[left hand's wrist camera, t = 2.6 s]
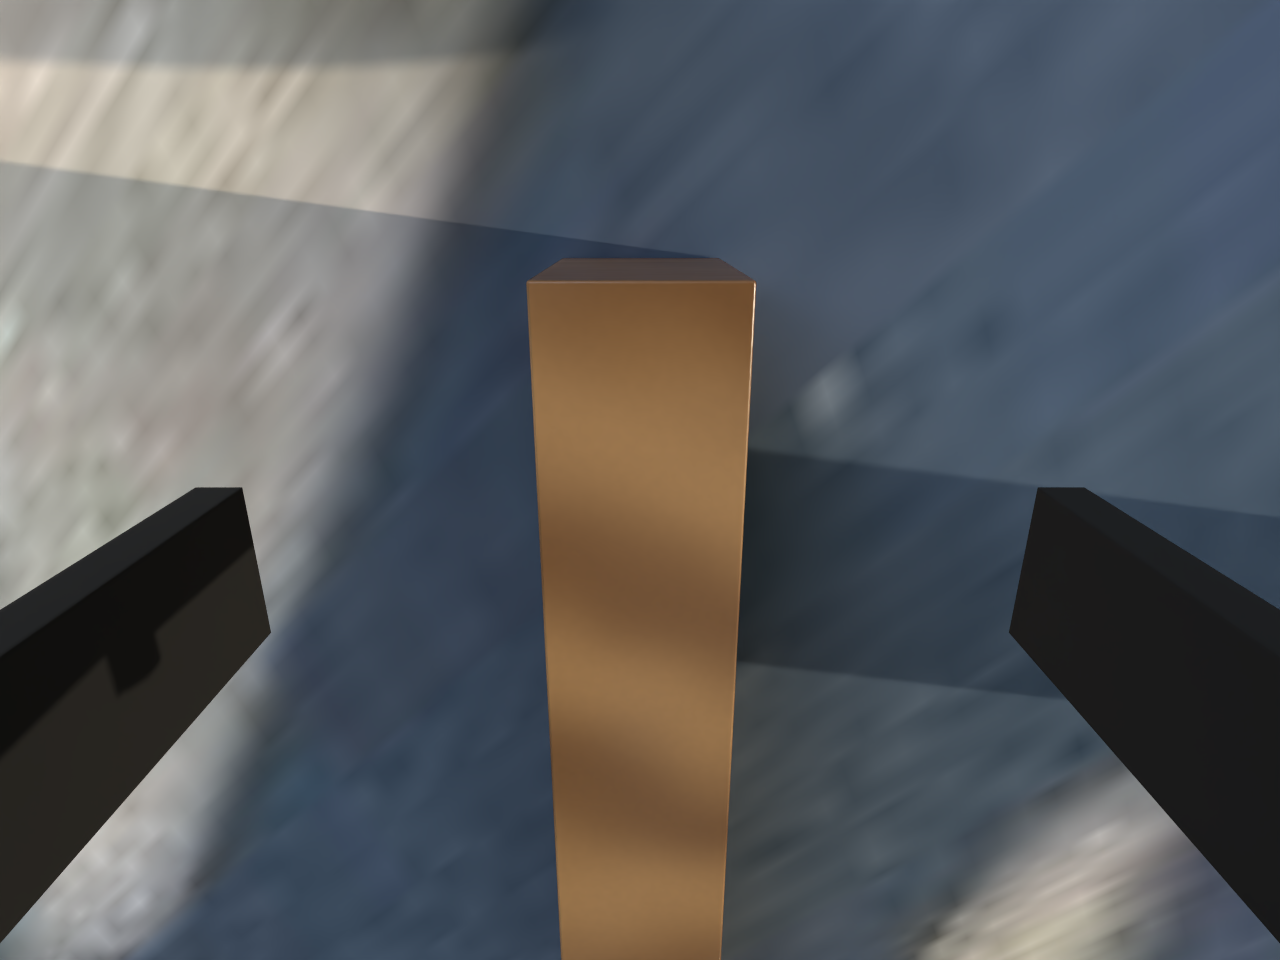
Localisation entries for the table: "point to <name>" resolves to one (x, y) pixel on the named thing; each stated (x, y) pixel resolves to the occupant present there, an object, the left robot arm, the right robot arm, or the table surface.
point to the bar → (641, 589)
